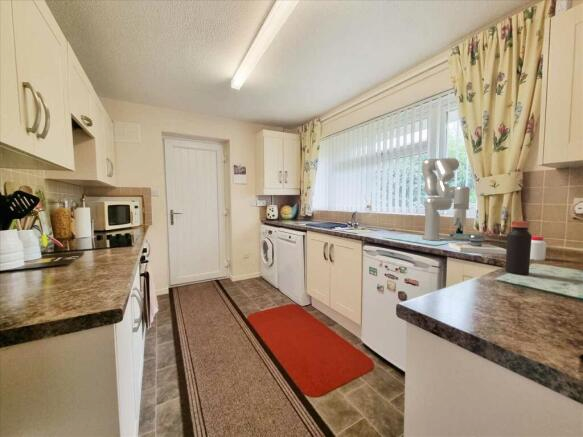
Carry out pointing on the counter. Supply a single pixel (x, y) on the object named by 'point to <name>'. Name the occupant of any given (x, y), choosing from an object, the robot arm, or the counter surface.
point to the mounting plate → (477, 248)
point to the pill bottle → (538, 248)
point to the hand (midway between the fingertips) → (459, 236)
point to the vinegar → (518, 248)
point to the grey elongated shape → (471, 238)
